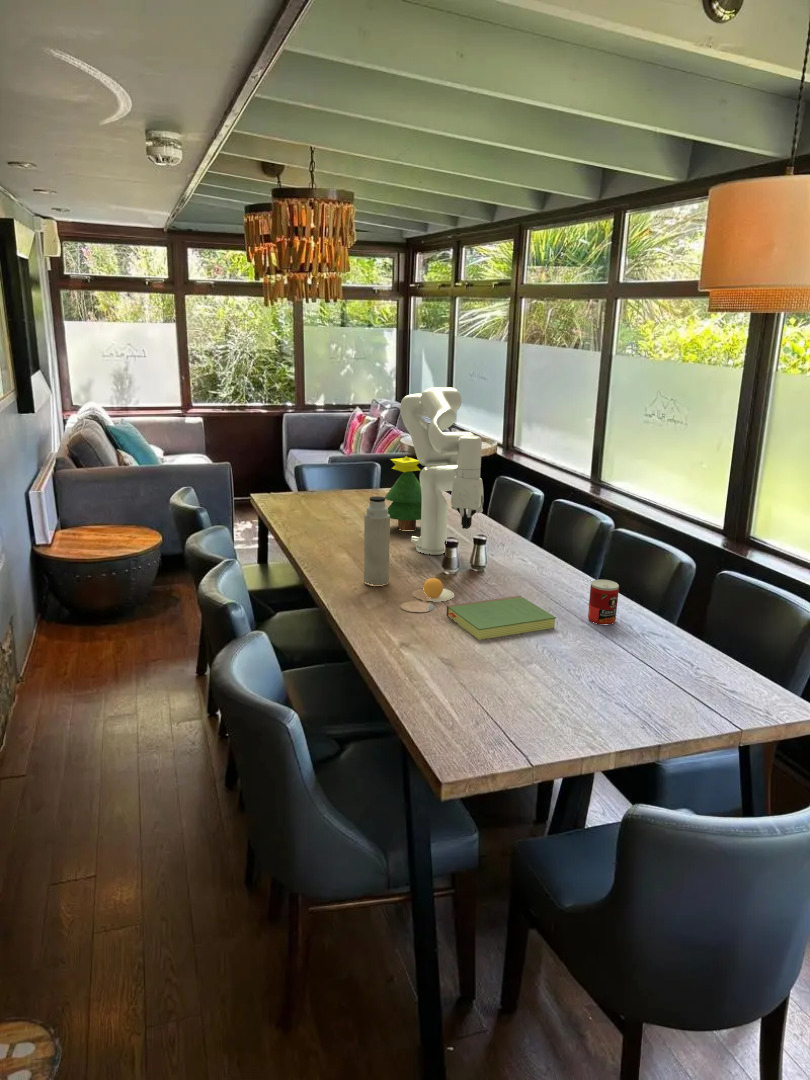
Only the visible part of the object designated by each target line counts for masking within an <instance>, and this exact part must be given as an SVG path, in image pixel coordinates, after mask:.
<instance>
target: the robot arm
mask: <svg viewBox="0 0 810 1080" xmlns="http://www.w3.org/2000/svg"><path fill="white" fill-rule="evenodd" d="M399 406H400V407H399V408H400V416H401V420H402V423H403V425H404V426H405V428H406V430H407V432H408V433H409V435H410V437H411V441H412V445H413V449H414V452H415V455H416V458H417V460H418V461H419V463H418V464H420V465H421V466H424V467H422V468H421V469H420V471H419V483H420V485H421V496H422V505H421V520H420V536H415V535H412V536H411V537H410V538H411V539H410V540H411V543H412V544H417V545H416V546H415V550H416V551H417V552H418V553H420V552H421V553H420V554H423V553H424V555H429V554H430V555H434V556H436V555H437V556H439V555H444V554H443V552H444V542H445V540H446V539H447V535H448V534H447V533H448V513H449V512H448V511H449V510H448V507H449V506H448V504H449V503H448V501H447V499H446V497H445V496H444V495H443V492H451V493H450V494H451V495H450V505H451V509H452V510H454V511H456V512H457V513H459V515H460V517H461V519H460V520H461V522H460V524H461V528H462V529H465V530H468V529H469V528H471V526H472V521H473V519H472V518H473V516H474V515H475V514H478V513H479V514H481V513H483V511H484V509H483V507H484V484H483V479H482V478H481V467H482V465H481V464H482V446H483V445H482V443H483V441H482V438H481V437H480V436H479V435H475V434H474V433H473V432H470V431H444V430H447V429H449V428H450V427H451V426H452V425H453V424H454V423H455V421H456V417H457V413H456V412H457V411H459V410H460V408H461V406H462V396H461V393H460V391H459V390H458V389H456V388H455V387H451V386H450V387H448V386H447V387H446V386H445V387H429V388H427V389H424V390H423V391H422V392H421V393H411V394H408V395H405V396H404V397H403V398H402V399H401V402H400V405H399ZM425 417H427V418H428V417H429V419H430V423H428V422H427V421H426V420H424V419H423V418H425ZM446 541H447V540H446Z"/></svg>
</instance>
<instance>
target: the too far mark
mask: <svg viewBox="0 0 810 1080" xmlns="http://www.w3.org/2000/svg"><path fill="white" fill-rule="evenodd" d="M429 603H430V602H429ZM429 603H428V604H429ZM426 609H427V608H426ZM434 609H435V605H434V604H433V603H431V605H429V611H430V612H432V611H433V610H434ZM431 610H432V611H431Z"/></svg>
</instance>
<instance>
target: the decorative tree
mask: <svg viewBox="0 0 810 1080" xmlns="http://www.w3.org/2000/svg"><path fill="white" fill-rule="evenodd" d="M389 460H390V461H392V463H394V466H393V467H391V469H393V470H395V471H399V472H402V473H401V474H400V476H399V477H398V478H397V479H396V480H395V483H394V484H393V485H392V487H391V488H390V489H389V491H388V492H387V493H386V495H385V496H384V497H385V500H387V501H390V502H391V503H390V504H389V506H388V507H387V508H388V514H389V515H390V520H391V519H392V520H396V521H397V529H398V528H399V529H401V530H415V529H416V530H417V521H421V505H422V496H421V485H420V480H418V478H417V477H416V475H415V474H414V472H416V471H421V468H419V466H418V465H419V464H420V463H419V461H418V459H415V458H413V457H408V456H407V455H406V456H404V457H400V458H390V459H389ZM416 530H415V531H416Z"/></svg>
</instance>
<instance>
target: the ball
mask: <svg viewBox="0 0 810 1080" xmlns="http://www.w3.org/2000/svg"><path fill="white" fill-rule="evenodd" d="M422 588H423V590H424V593H425V594H426V595H427V596H428V597H431V598H436V597H438V596H440V595H441V593H442V591H443V589H444V586H443V583H442V581H441V580H440V579H439V578H436V577H431V578H428V579H426V581H425V582H424V583H423V586H422Z"/></svg>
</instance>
